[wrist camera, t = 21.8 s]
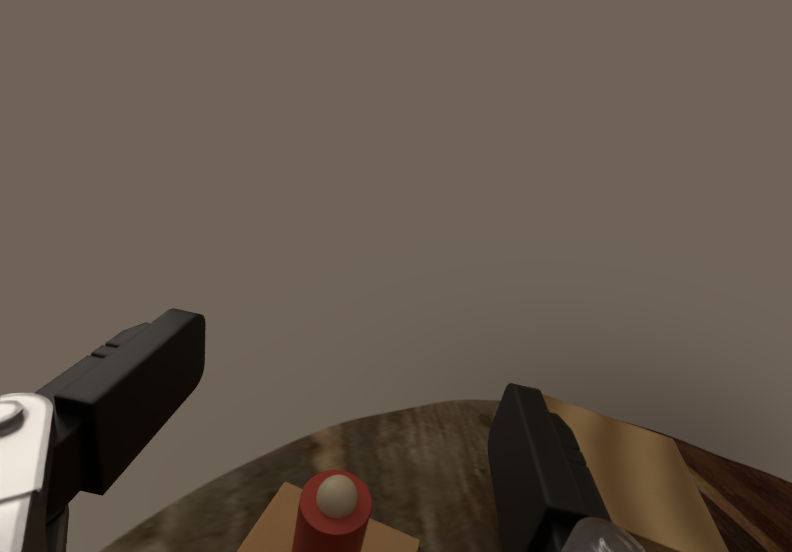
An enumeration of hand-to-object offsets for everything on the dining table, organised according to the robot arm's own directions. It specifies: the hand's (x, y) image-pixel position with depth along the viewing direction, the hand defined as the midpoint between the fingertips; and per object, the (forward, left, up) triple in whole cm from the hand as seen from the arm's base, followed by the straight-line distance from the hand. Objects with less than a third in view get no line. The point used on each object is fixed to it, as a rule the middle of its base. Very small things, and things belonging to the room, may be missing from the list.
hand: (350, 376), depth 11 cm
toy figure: (+2, -10, -24) cm, 26 cm away
